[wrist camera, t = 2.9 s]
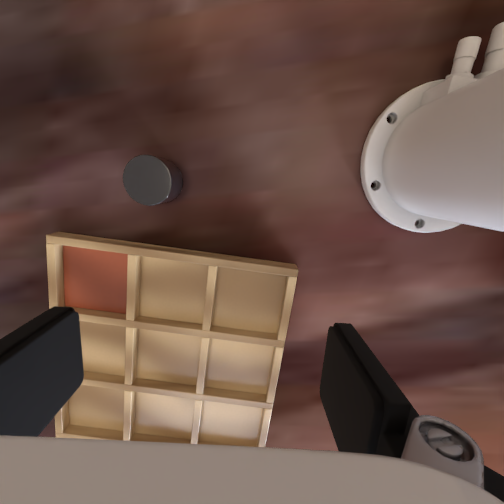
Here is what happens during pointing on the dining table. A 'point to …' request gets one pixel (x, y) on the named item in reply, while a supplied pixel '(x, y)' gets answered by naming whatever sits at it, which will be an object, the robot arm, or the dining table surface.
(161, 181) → the metal cylinder
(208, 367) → the board
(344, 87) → the dining table surface
